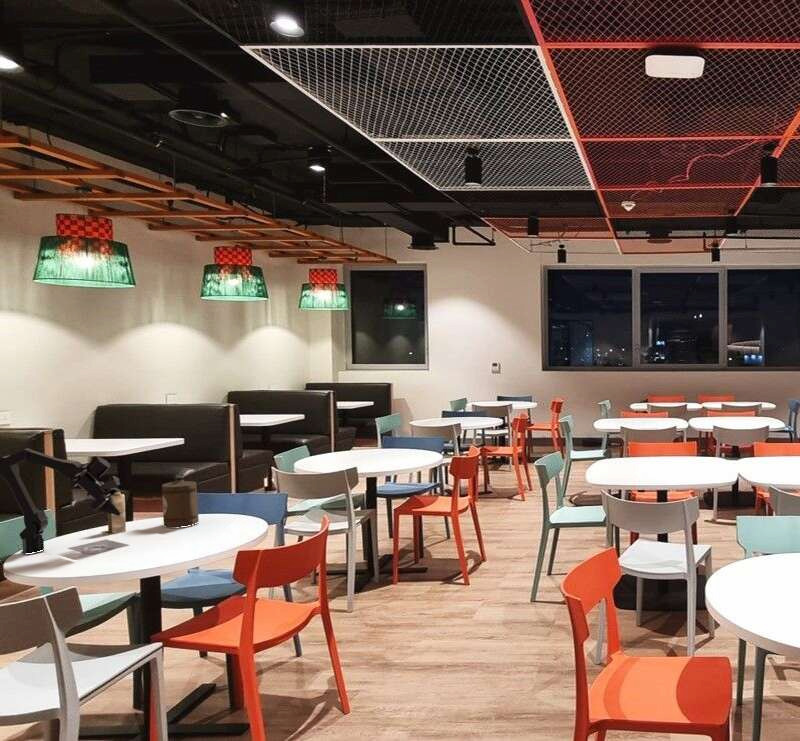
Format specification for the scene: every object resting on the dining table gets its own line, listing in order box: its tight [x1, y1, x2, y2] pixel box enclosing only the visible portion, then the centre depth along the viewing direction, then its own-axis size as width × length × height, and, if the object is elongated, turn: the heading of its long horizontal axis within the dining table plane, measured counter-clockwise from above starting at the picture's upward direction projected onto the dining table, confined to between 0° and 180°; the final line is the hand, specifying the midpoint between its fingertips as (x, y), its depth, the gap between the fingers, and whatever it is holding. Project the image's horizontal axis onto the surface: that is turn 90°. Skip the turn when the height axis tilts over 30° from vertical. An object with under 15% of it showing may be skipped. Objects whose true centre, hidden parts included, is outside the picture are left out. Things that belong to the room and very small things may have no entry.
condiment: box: [101, 512, 127, 536], centre depth 315 cm, size 7×8×12 cm
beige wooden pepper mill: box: [111, 491, 127, 534], centre depth 286 cm, size 5×5×15 cm
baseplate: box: [67, 538, 130, 555], centre depth 286 cm, size 16×18×2 cm
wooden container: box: [161, 474, 199, 528], centre depth 325 cm, size 15×15×22 cm
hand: (121, 513), depth 286 cm, fingers closed on beige wooden pepper mill, 5 cm apart
